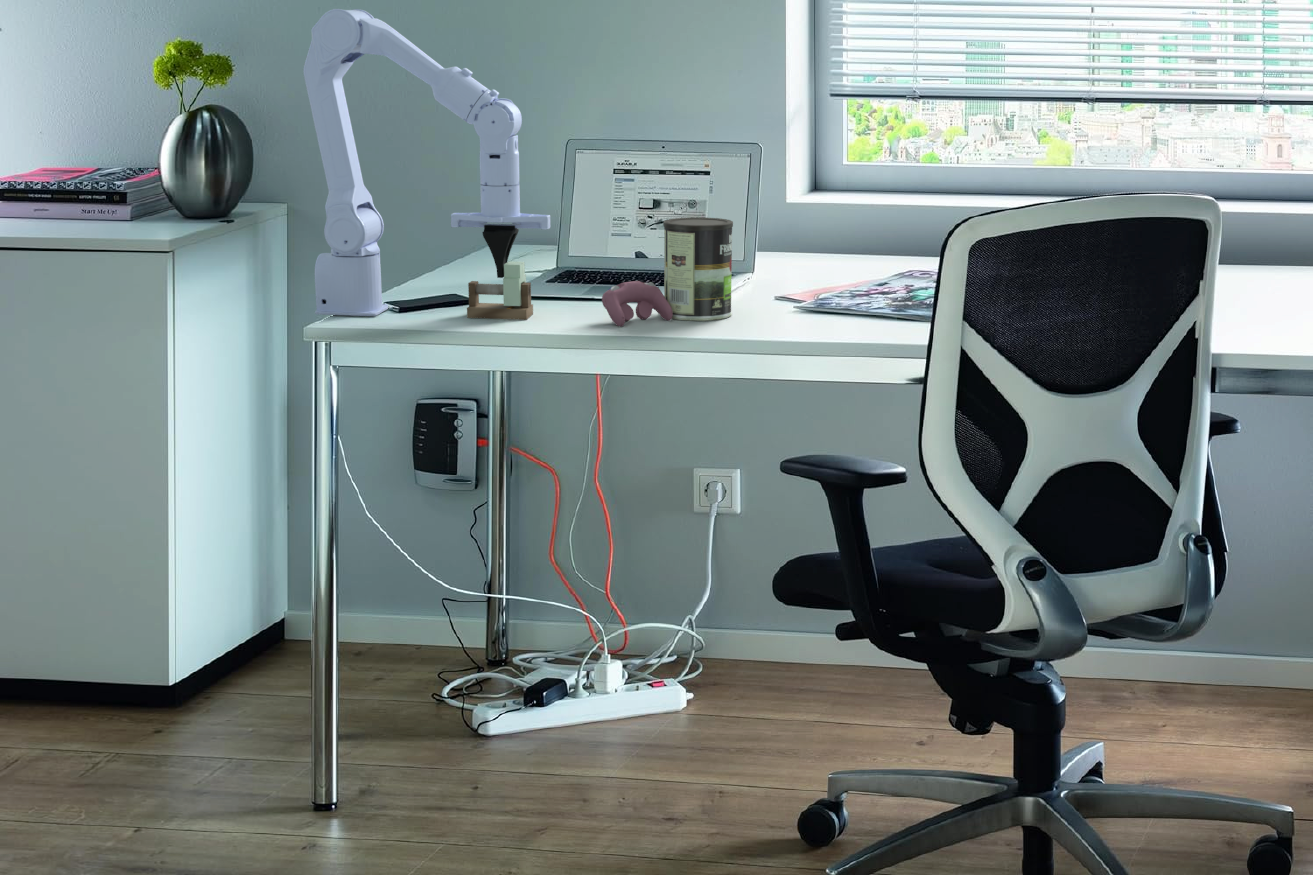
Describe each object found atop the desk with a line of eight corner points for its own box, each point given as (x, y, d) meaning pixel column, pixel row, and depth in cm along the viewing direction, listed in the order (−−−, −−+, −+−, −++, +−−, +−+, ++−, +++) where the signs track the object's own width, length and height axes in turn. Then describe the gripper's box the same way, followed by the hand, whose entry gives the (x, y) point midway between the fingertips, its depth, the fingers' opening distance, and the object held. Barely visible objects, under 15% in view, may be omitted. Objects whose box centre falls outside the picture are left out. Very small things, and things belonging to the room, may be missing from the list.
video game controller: (661, 327, 232) (650, 283, 233) (677, 318, 228) (665, 273, 229) (605, 334, 227) (594, 289, 227) (620, 325, 223) (608, 279, 224)
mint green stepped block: (503, 305, 229) (502, 265, 227) (510, 300, 233) (509, 260, 232) (519, 306, 229) (518, 265, 227) (526, 301, 233) (525, 261, 231)
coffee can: (736, 310, 237) (737, 217, 233) (725, 322, 227) (727, 226, 223) (670, 307, 239) (670, 216, 235) (656, 320, 229) (657, 224, 225)
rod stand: (467, 317, 230) (466, 284, 229) (474, 312, 234) (473, 279, 233) (526, 319, 229) (525, 286, 228) (533, 314, 233) (532, 281, 232)
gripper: (444, 186, 224) (446, 279, 227) (542, 188, 222) (543, 282, 225) (457, 181, 230) (459, 272, 234) (552, 183, 228) (554, 275, 232)
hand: (501, 276), depth 230 cm, fingers closed
